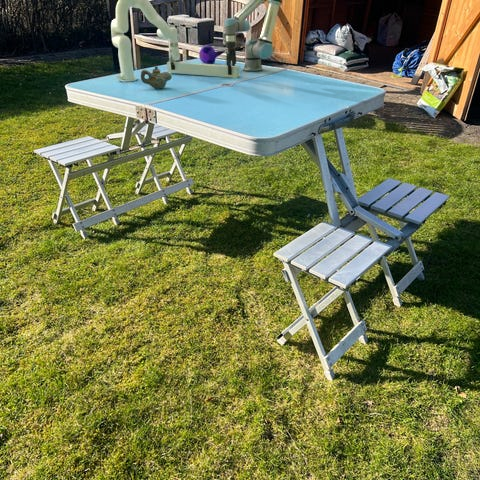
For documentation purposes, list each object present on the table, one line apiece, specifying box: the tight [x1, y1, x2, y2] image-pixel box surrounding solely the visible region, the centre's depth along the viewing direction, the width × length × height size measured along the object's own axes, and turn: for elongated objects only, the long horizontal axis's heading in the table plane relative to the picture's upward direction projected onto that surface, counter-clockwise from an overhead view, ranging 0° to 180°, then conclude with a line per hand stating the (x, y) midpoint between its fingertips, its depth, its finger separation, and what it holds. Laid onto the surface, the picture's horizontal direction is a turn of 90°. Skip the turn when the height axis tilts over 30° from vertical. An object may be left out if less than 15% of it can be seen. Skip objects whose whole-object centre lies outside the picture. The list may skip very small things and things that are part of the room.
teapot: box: [140, 65, 173, 90], centre depth 311 cm, size 21×12×15 cm, turn 109°
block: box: [166, 61, 240, 79], centre depth 353 cm, size 60×6×8 cm, turn 69°
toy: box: [198, 45, 226, 64], centre depth 391 cm, size 16×18×27 cm
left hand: (175, 68), depth 361 cm, fingers closed on block, 6 cm apart
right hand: (231, 73), depth 347 cm, fingers open, 7 cm apart
